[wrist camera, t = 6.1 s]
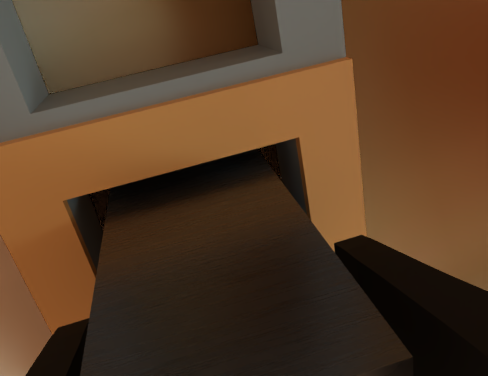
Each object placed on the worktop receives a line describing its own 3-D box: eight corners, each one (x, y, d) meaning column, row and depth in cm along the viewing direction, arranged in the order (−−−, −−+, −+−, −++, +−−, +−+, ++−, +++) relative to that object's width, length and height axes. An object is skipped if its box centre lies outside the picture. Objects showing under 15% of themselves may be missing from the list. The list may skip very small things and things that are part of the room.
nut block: (246, 134, 12) (413, 357, 4) (267, 244, 13) (415, 537, 6) (113, 168, 11) (63, 472, 4) (151, 277, 13) (164, 633, 6)
